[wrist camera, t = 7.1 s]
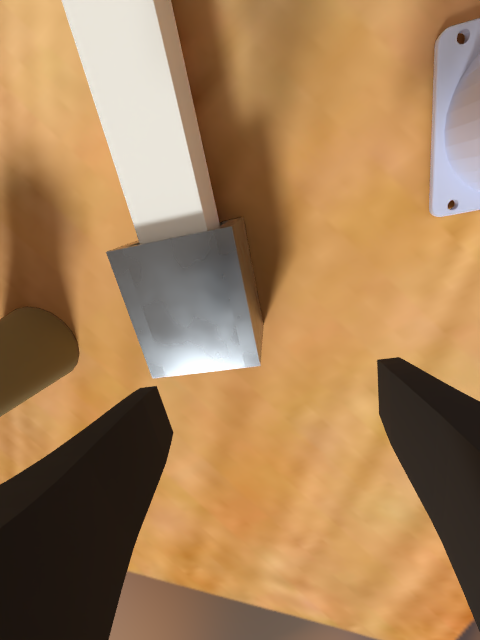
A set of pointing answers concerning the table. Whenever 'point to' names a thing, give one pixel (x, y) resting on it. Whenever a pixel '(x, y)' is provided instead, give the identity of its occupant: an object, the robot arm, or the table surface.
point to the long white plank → (146, 113)
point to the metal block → (192, 300)
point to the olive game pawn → (32, 354)
